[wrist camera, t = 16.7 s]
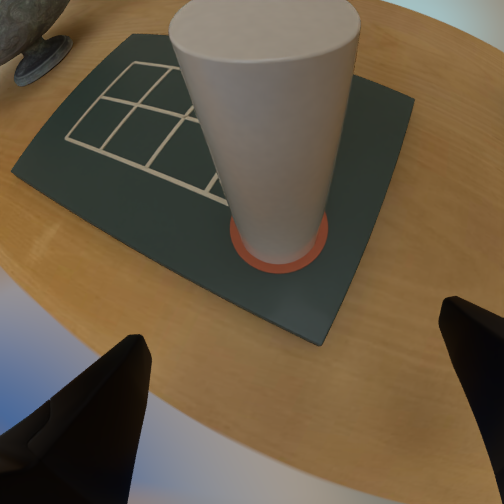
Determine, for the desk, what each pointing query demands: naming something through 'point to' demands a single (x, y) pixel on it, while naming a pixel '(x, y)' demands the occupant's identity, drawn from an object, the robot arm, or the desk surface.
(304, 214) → the white upright cylinder
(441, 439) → the desk surface
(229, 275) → the board
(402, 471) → the desk surface
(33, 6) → the bowl
